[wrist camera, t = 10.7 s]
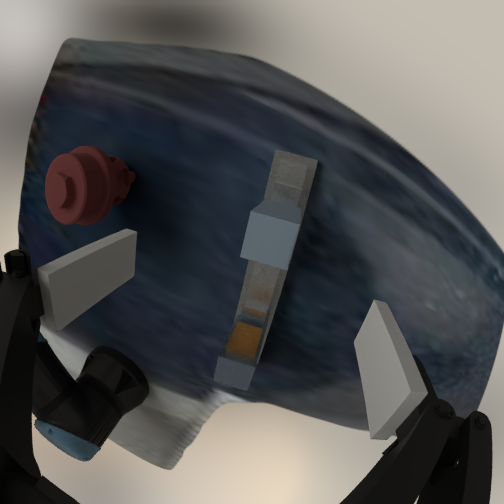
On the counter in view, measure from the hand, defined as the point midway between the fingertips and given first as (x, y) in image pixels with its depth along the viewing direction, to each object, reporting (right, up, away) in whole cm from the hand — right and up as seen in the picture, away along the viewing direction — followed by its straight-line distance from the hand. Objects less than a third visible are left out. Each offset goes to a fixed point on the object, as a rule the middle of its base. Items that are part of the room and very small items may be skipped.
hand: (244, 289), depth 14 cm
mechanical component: (-19, +12, +22) cm, 32 cm away
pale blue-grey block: (+3, +5, +17) cm, 18 cm away
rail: (+2, -1, +22) cm, 22 cm away
